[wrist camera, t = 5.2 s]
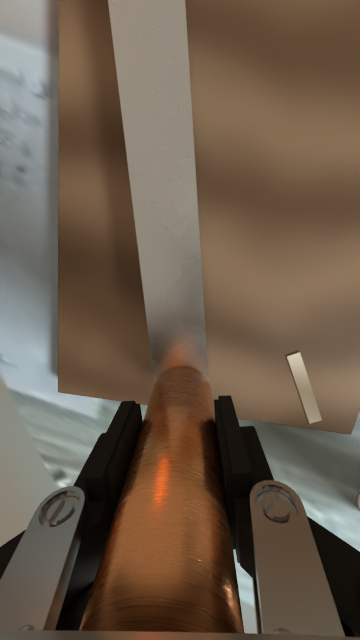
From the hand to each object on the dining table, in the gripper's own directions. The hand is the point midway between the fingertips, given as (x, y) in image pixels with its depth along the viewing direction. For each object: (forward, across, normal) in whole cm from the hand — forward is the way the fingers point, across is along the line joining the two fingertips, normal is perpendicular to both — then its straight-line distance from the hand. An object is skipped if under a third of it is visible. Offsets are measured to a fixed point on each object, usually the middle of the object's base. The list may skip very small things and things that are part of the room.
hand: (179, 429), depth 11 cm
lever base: (+6, -4, -11) cm, 13 cm away
